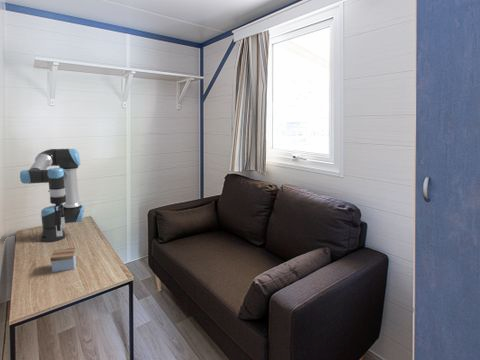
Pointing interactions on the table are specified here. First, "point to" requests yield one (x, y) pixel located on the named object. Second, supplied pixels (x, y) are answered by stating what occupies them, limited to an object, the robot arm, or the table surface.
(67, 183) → the robot arm
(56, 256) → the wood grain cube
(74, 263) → the slide box
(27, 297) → the table surface
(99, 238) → the table surface
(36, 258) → the table surface
